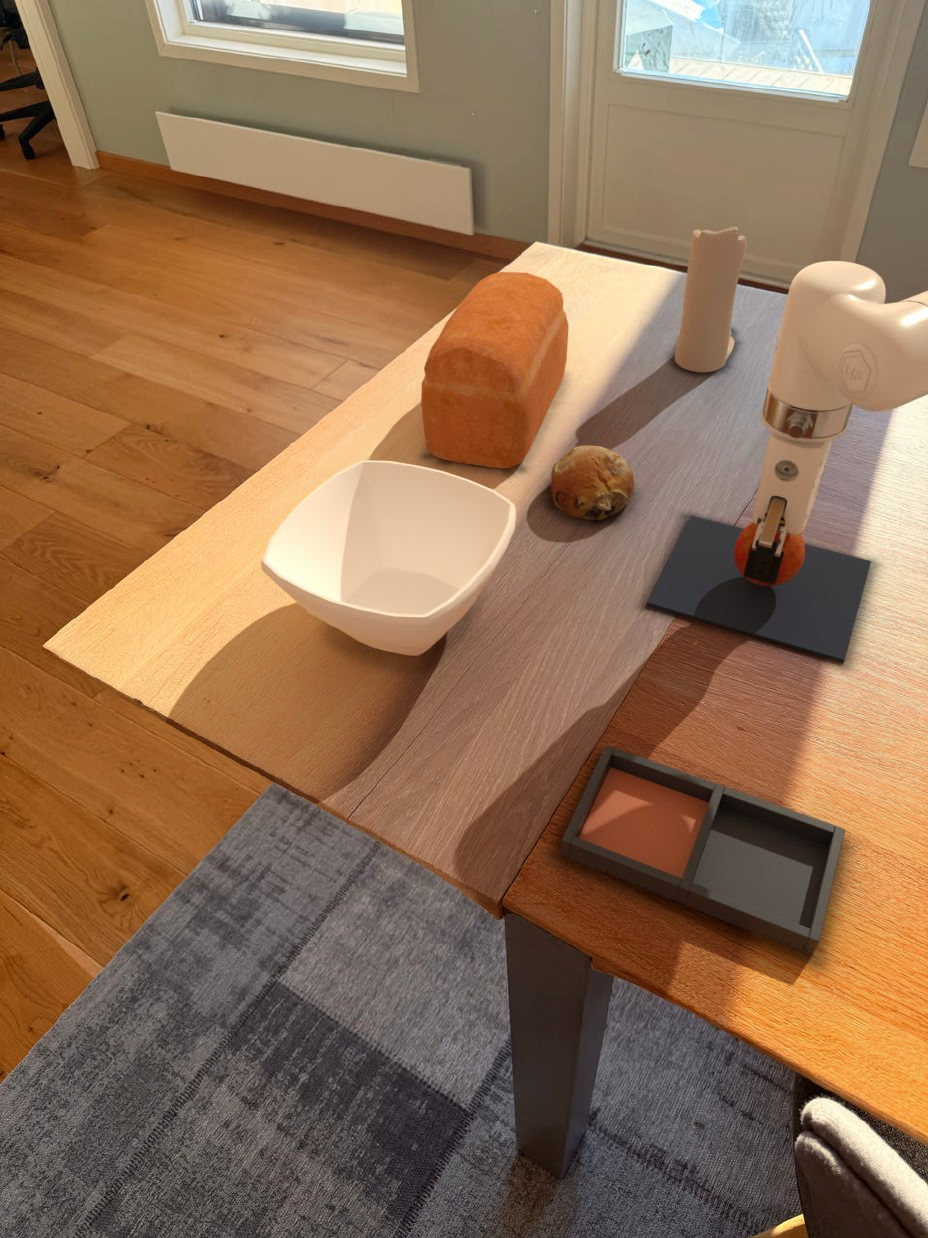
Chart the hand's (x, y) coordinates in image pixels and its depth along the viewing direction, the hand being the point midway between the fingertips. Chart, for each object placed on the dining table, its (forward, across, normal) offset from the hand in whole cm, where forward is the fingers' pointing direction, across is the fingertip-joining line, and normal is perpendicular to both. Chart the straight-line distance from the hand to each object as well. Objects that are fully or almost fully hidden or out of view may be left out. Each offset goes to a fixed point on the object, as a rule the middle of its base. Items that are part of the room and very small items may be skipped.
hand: (768, 554), depth 94 cm
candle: (+4, +47, +19) cm, 51 cm away
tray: (+4, -34, -3) cm, 34 cm away
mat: (+4, 0, 0) cm, 4 cm away
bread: (+4, +20, +40) cm, 45 cm away
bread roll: (+4, +7, +22) cm, 24 cm away
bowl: (+4, -20, +33) cm, 39 cm away
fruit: (+3, 0, 0) cm, 3 cm away
